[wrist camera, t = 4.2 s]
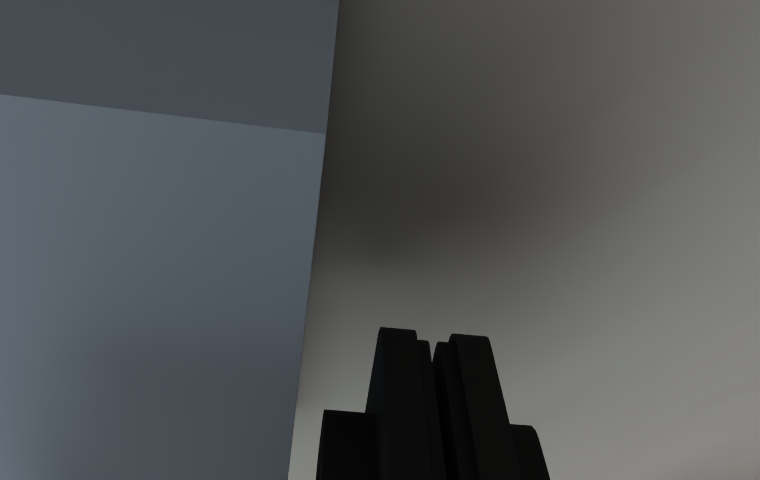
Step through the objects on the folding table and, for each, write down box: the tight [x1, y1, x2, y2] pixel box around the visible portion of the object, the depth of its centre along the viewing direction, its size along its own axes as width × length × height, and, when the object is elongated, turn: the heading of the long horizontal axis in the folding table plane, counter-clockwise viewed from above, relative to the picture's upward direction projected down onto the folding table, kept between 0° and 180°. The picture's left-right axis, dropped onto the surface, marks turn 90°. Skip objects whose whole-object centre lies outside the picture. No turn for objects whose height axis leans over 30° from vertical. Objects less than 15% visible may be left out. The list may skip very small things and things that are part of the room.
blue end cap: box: [0, 0, 339, 480], centre depth 12 cm, size 10×8×6 cm
